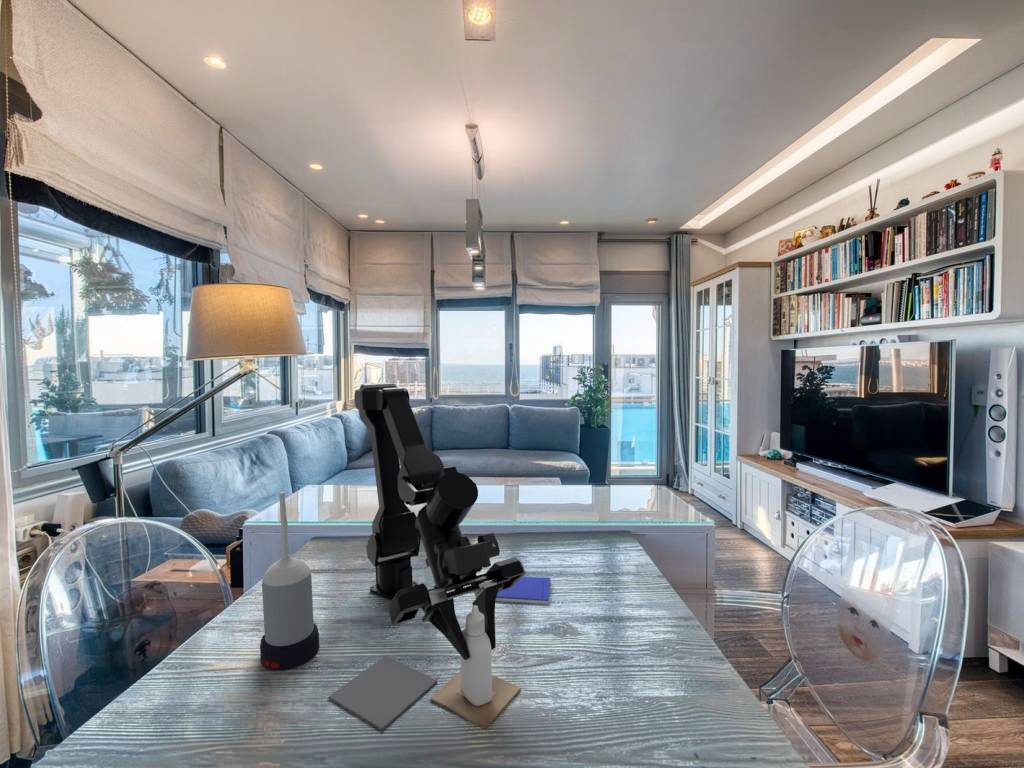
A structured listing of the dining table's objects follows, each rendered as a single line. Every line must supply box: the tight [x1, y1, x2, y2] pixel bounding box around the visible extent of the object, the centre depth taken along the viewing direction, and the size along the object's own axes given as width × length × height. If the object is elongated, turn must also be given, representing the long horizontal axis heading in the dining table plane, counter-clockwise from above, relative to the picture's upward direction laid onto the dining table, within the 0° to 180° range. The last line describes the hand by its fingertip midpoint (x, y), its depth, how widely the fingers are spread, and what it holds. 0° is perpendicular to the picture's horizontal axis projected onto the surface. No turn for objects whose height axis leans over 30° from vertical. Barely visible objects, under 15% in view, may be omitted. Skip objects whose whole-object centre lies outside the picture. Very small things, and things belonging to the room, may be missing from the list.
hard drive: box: [496, 575, 551, 605], centre depth 93 cm, size 2×8×12 cm
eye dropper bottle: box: [460, 605, 493, 706], centre depth 65 cm, size 4×6×12 cm
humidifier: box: [259, 490, 320, 672], centre depth 74 cm, size 8×8×25 cm
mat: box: [328, 655, 438, 731], centre depth 67 cm, size 10×10×1 cm
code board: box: [429, 670, 522, 730], centre depth 66 cm, size 9×8×1 cm
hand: (480, 653), depth 64 cm, fingers closed on eye dropper bottle, 3 cm apart
